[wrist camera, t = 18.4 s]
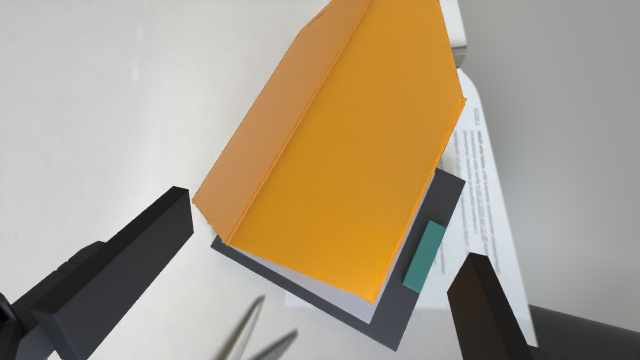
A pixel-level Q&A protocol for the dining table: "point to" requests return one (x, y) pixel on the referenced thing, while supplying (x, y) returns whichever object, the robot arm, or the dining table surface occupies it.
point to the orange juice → (340, 144)
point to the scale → (401, 282)
